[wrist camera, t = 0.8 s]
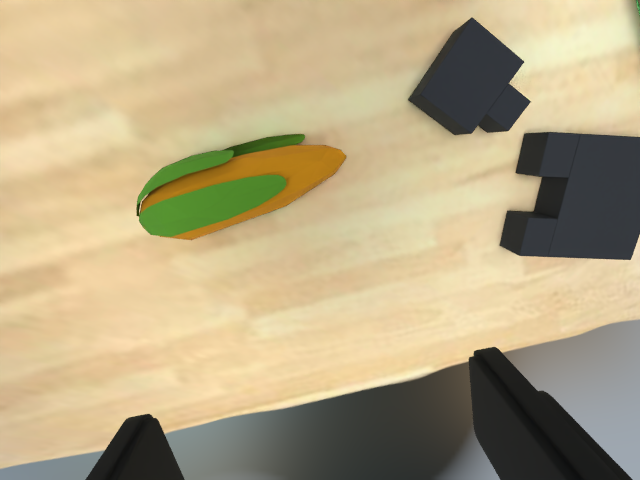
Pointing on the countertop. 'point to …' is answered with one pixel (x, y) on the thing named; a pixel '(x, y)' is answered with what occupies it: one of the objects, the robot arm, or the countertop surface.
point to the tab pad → (472, 83)
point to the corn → (233, 185)
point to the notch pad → (578, 197)
